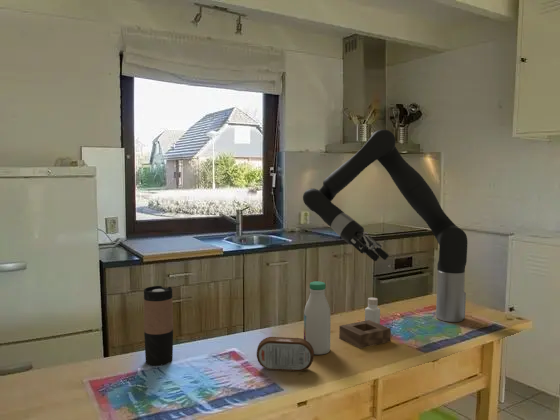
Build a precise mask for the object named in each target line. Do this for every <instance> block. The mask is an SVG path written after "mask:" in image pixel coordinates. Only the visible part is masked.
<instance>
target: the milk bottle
mask: <svg viewBox="0 0 560 420" xmlns="http://www.w3.org/2000/svg"><path fill="white" fill-rule="evenodd" d="M326 285H327V284H326V283H325V282H323V281H317V280H316V281H312V282H311V281H310V283H309V292H310V293H309V296H308V300H307V301H306V304H305V306H304V313H303V339H304V340H306V341H308V342H309V343H310V344H311V346H312V347H313V350H314V356H315V355H319V356H321V355H326V354H328V353H330V350H331V308H330V305H329V303H328V302H329V301H328V300H327V296H326V287H327V286H326Z"/></svg>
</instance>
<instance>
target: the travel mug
mask: <svg viewBox="0 0 560 420" xmlns="http://www.w3.org/2000/svg"><path fill="white" fill-rule="evenodd" d="M173 303H174V302H173V288H172V286H168V287H163V286H161V285H154V286H148V287H145V288H144V289H143V323H144V324H143V328H144V330H143V335H144V350H145V351H144V355H145V363H146V365H148V366H154V367H159V366H165V365H167V364H170V363H171V362H173V359H174V358H173V355H174V354H173V353H174V348H173V347H174V314H173V313H174V311H173V308H174V306H173Z"/></svg>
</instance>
